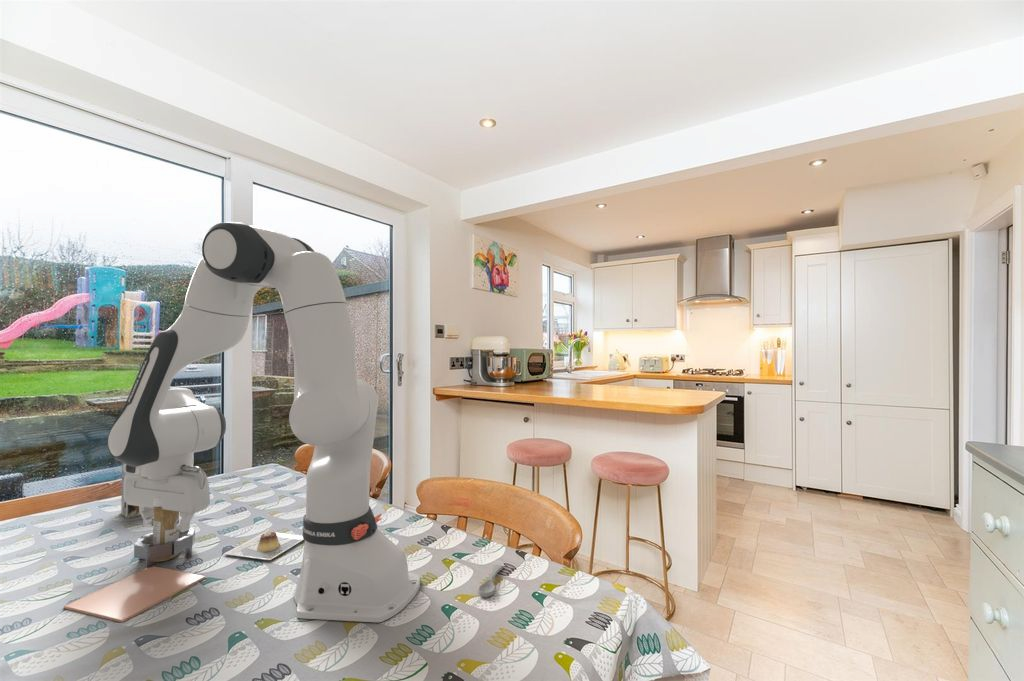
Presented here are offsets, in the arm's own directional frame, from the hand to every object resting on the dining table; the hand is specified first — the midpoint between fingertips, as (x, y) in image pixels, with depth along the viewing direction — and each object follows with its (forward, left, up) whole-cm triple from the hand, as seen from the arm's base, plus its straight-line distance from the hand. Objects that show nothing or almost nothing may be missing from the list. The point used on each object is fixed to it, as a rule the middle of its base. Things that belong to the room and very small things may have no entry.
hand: (166, 528), depth 90 cm
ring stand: (0, 0, -6) cm, 6 cm away
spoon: (-70, -10, -7) cm, 71 cm away
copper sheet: (-9, +11, -6) cm, 15 cm away
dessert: (-17, -10, -7) cm, 21 cm away
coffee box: (+33, -18, -6) cm, 38 cm away
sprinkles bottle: (0, 0, -6) cm, 6 cm away
